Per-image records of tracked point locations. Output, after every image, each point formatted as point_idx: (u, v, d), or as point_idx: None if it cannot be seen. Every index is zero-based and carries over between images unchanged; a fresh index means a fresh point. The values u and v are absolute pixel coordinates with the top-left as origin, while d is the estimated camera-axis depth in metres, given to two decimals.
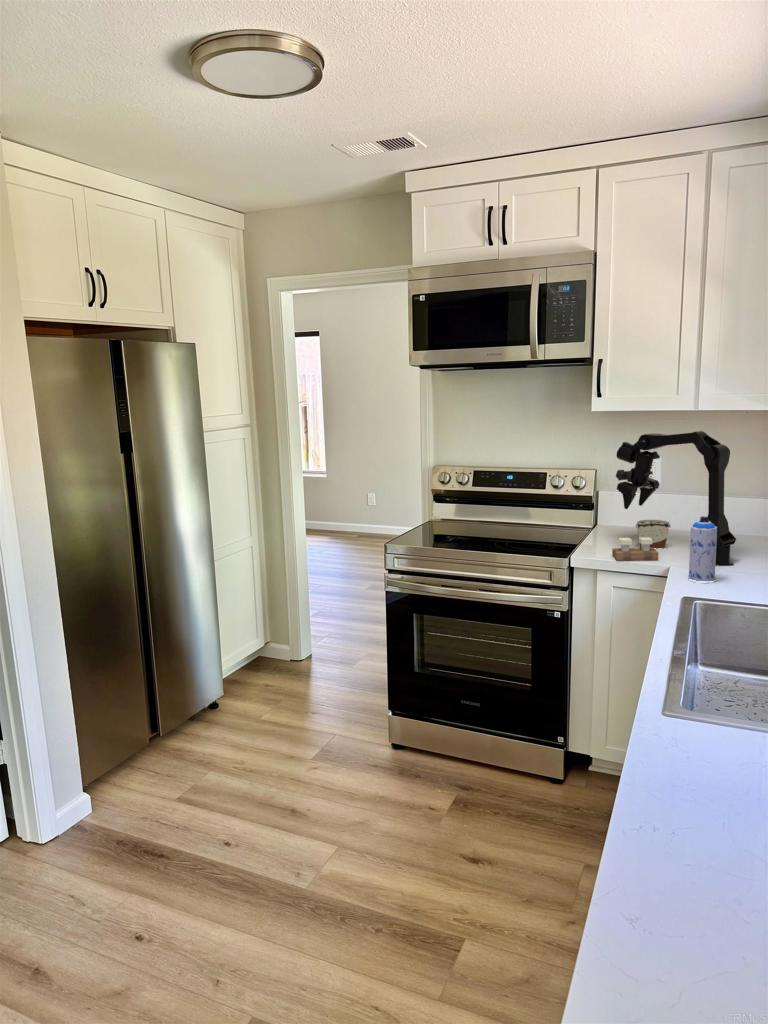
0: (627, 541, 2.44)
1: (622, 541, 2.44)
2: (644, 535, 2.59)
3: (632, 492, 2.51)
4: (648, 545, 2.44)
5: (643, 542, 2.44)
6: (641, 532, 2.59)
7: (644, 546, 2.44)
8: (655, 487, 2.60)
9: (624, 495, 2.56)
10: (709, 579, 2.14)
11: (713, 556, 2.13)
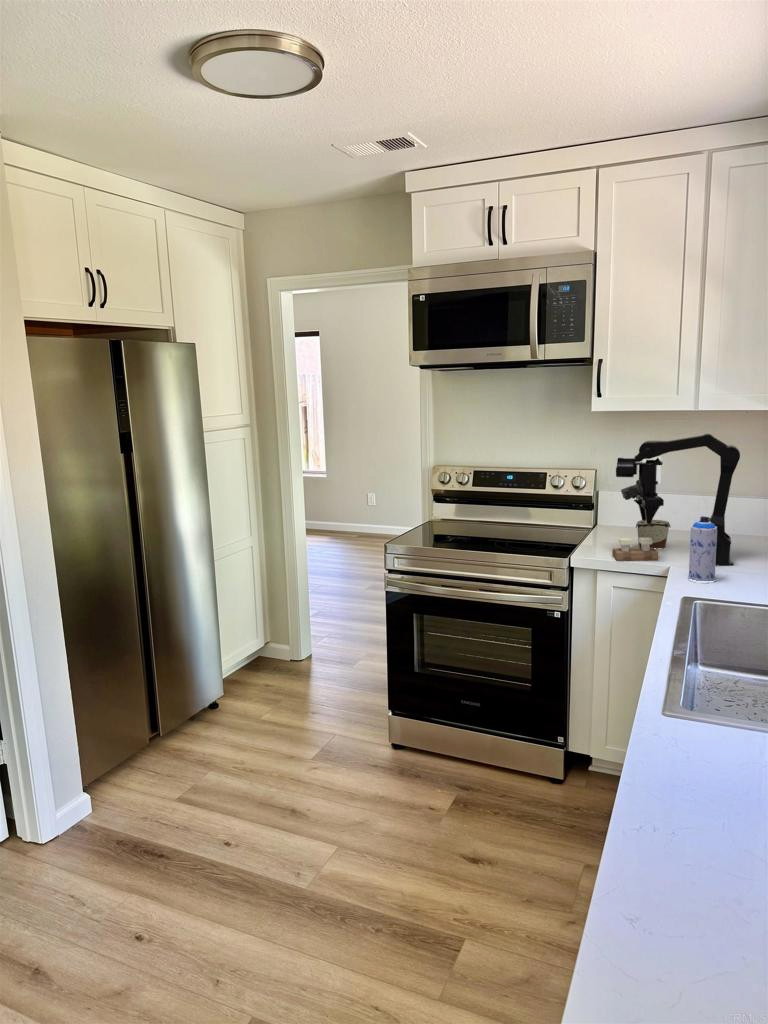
0: (627, 541, 2.44)
1: (622, 541, 2.44)
2: (644, 535, 2.59)
3: None
4: (648, 545, 2.44)
5: (643, 542, 2.44)
6: (641, 532, 2.59)
7: (644, 546, 2.44)
8: None
9: (647, 509, 2.39)
10: (709, 579, 2.14)
11: (713, 556, 2.13)
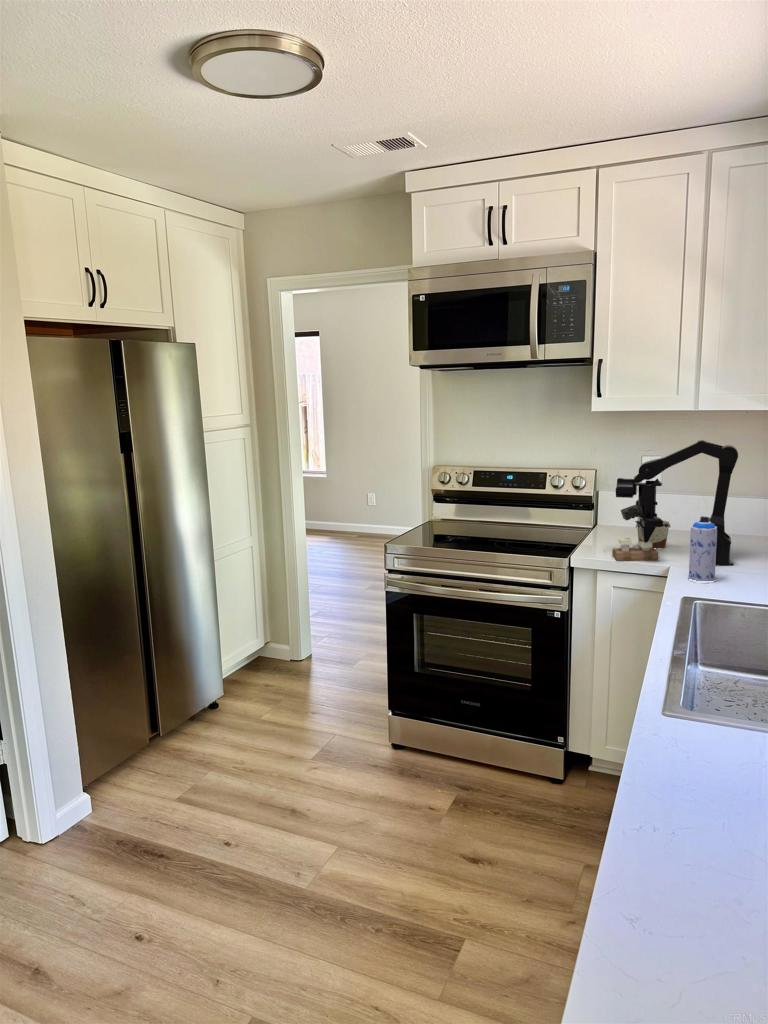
0: (627, 541, 2.44)
1: (622, 541, 2.44)
2: None
3: None
4: (648, 549, 2.45)
5: (643, 546, 2.44)
6: (641, 532, 2.59)
7: (644, 550, 2.45)
8: None
9: (645, 528, 2.43)
10: (709, 579, 2.14)
11: (713, 556, 2.13)
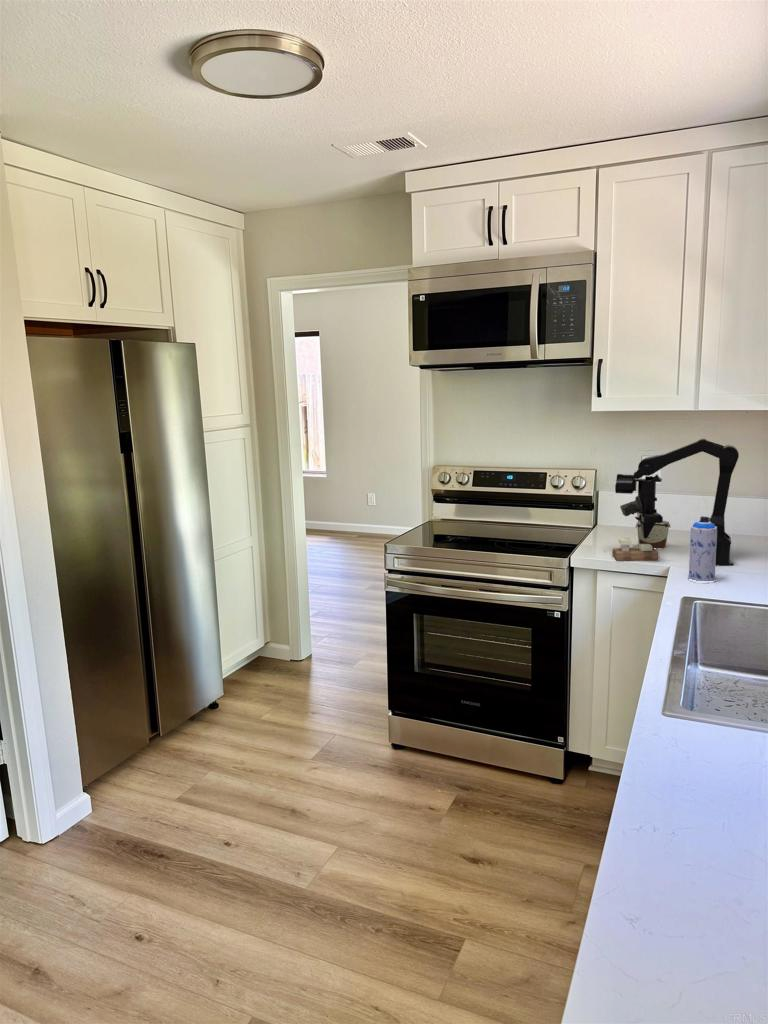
0: (627, 541, 2.44)
1: (622, 541, 2.44)
2: None
3: None
4: None
5: (643, 548, 2.44)
6: (641, 532, 2.59)
7: None
8: None
9: (644, 524, 2.43)
10: (709, 579, 2.14)
11: (713, 556, 2.13)
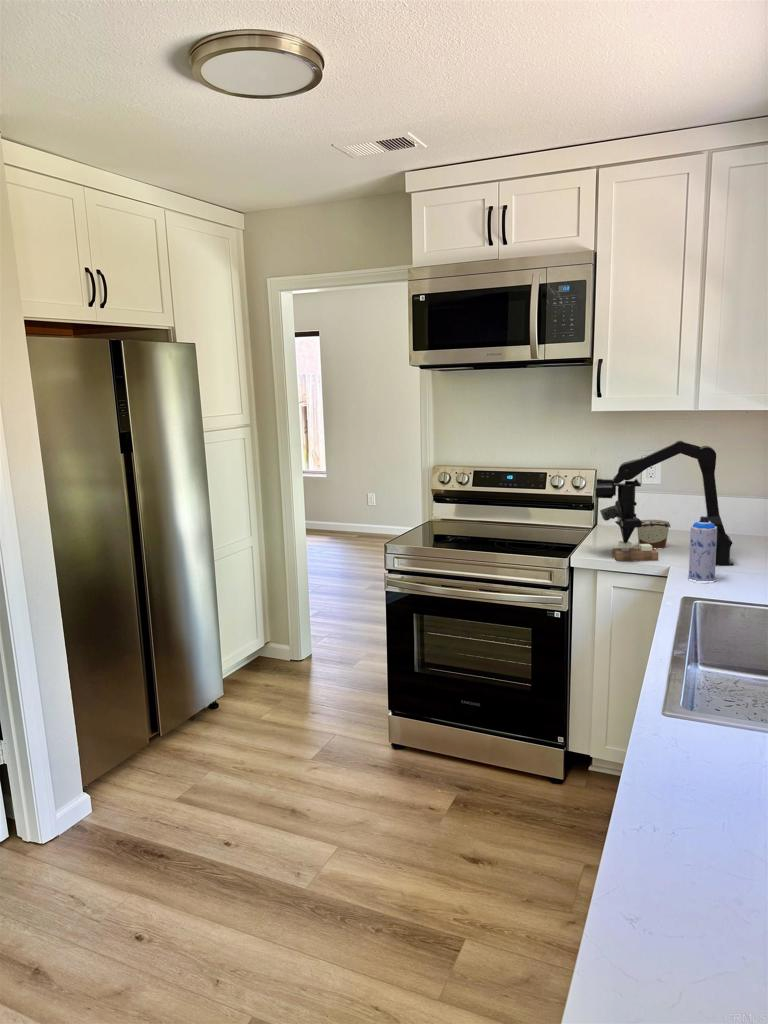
0: (627, 545, 2.44)
1: (622, 545, 2.44)
2: (644, 535, 2.59)
3: None
4: None
5: (643, 548, 2.44)
6: (641, 532, 2.59)
7: None
8: None
9: (624, 529, 2.43)
10: (709, 579, 2.14)
11: (713, 556, 2.13)
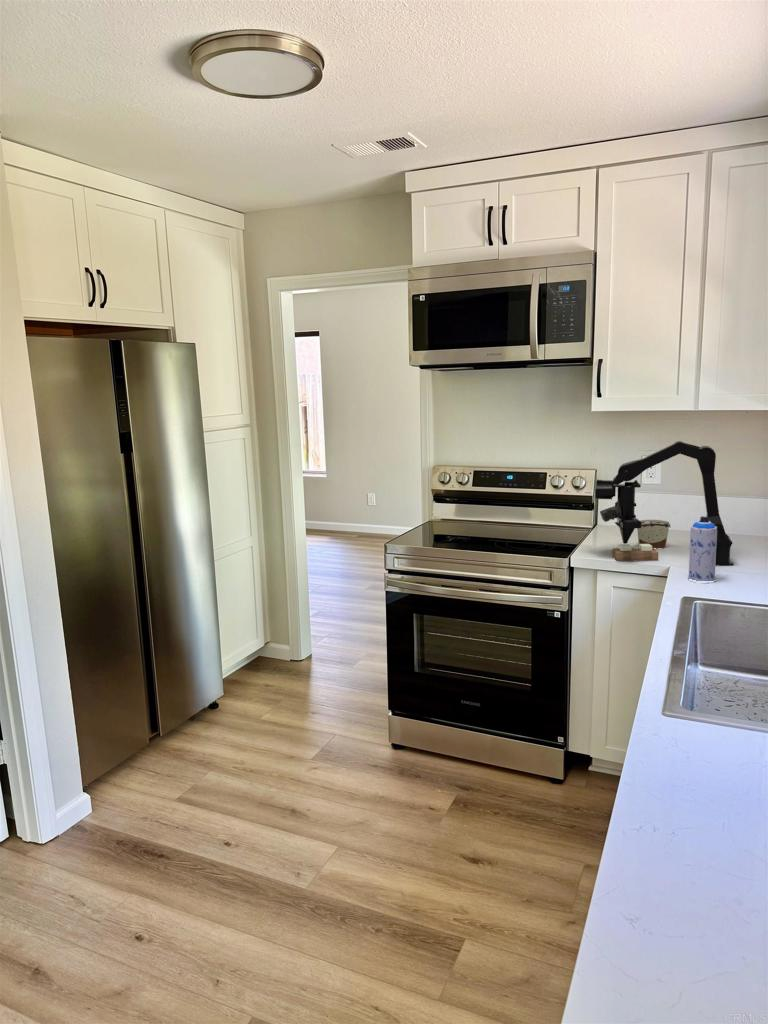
0: (627, 547, 2.44)
1: (622, 547, 2.45)
2: (644, 535, 2.59)
3: None
4: None
5: (643, 548, 2.44)
6: (641, 532, 2.59)
7: None
8: None
9: (623, 530, 2.43)
10: (709, 579, 2.14)
11: (713, 556, 2.13)
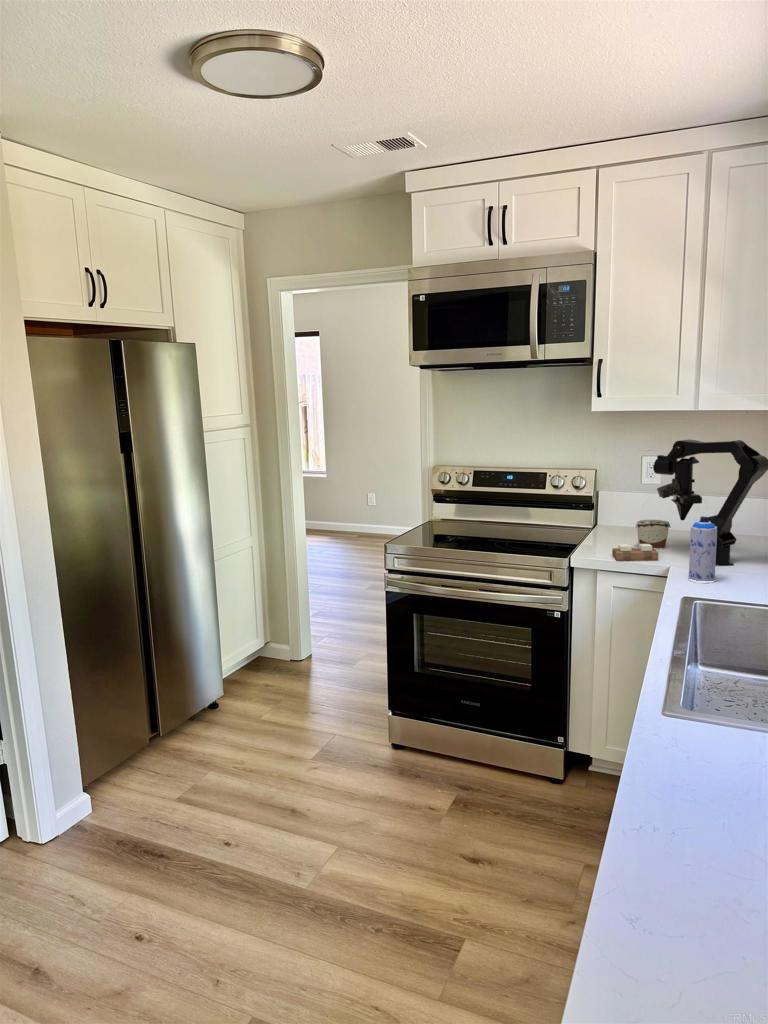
0: (627, 547, 2.44)
1: (622, 547, 2.45)
2: (644, 535, 2.59)
3: None
4: None
5: (643, 548, 2.44)
6: (641, 532, 2.59)
7: None
8: None
9: (682, 506, 2.44)
10: (709, 579, 2.14)
11: (713, 556, 2.13)
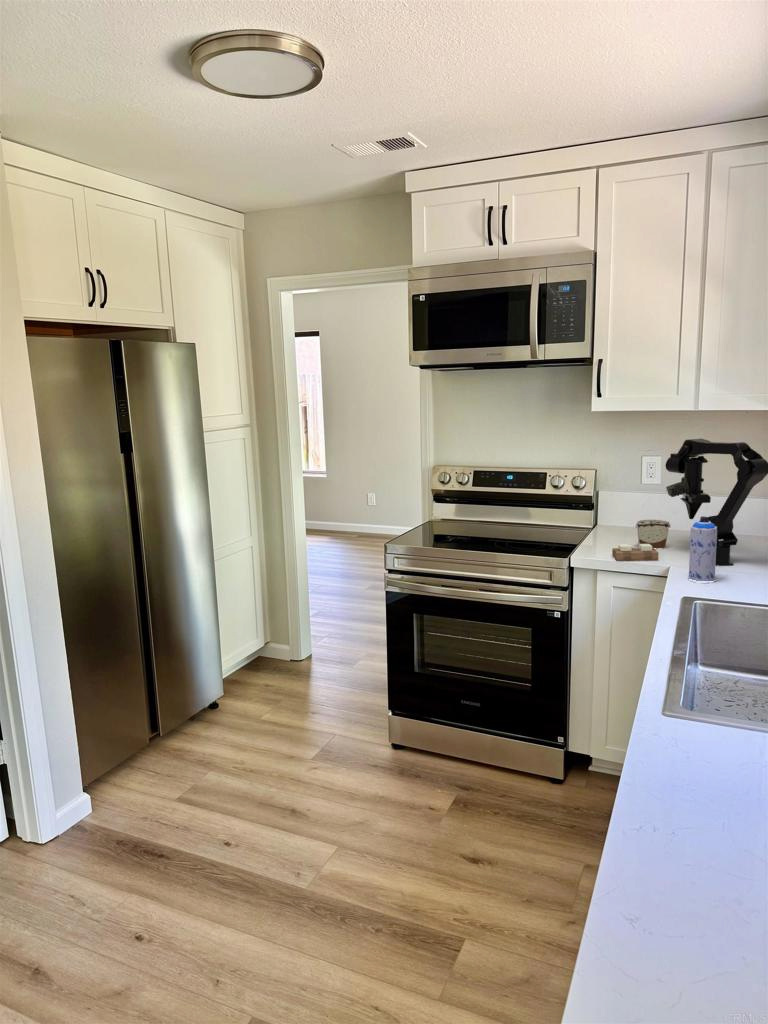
0: (627, 547, 2.44)
1: (622, 547, 2.45)
2: (644, 535, 2.59)
3: None
4: None
5: (643, 548, 2.44)
6: (641, 532, 2.59)
7: None
8: None
9: (690, 505, 2.44)
10: (709, 579, 2.14)
11: (713, 556, 2.13)
